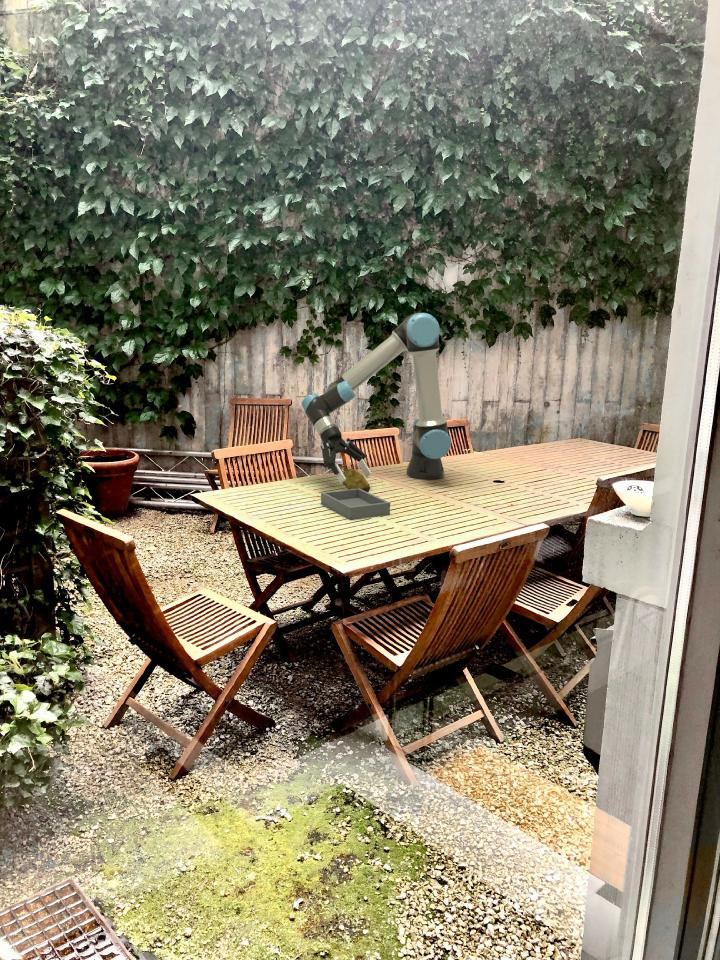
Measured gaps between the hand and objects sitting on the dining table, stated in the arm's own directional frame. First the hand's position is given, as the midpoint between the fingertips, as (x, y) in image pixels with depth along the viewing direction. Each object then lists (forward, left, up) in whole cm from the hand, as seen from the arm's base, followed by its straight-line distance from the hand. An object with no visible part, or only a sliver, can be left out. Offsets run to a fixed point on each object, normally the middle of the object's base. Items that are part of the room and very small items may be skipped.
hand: (356, 478), depth 254 cm
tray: (+18, -11, -5) cm, 22 cm away
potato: (-1, 0, -6) cm, 6 cm away
